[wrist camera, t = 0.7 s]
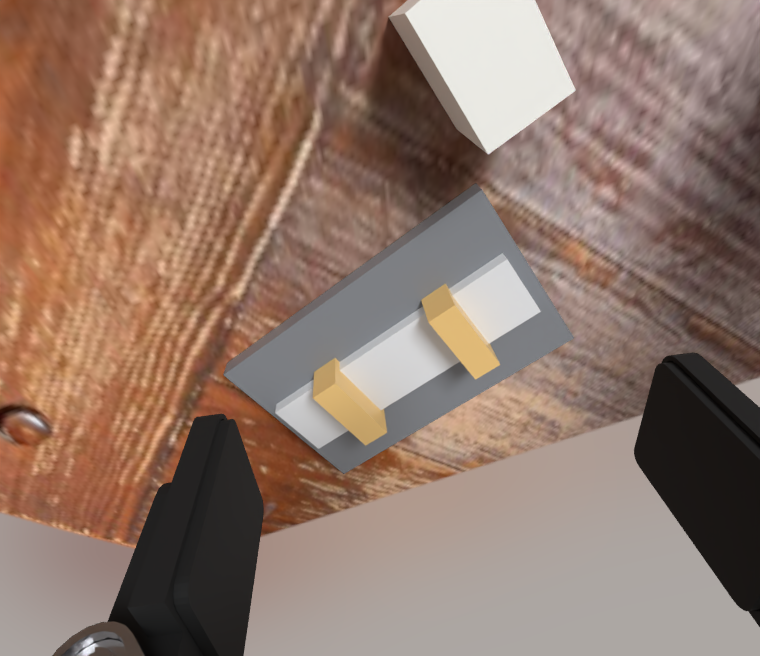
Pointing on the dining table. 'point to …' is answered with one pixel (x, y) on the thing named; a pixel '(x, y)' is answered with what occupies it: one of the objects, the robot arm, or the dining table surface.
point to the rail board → (404, 336)
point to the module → (485, 63)
